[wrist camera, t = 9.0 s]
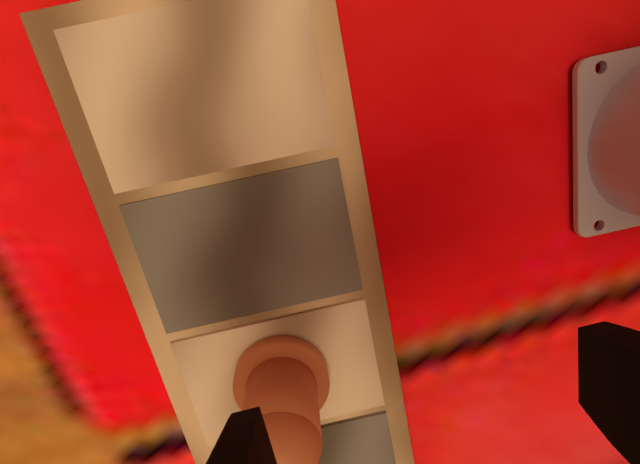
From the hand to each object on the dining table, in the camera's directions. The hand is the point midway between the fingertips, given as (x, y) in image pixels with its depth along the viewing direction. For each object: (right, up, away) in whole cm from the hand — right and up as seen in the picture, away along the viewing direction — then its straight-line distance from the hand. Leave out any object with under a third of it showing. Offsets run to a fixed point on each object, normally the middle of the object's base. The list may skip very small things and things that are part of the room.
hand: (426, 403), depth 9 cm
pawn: (-4, -3, +10) cm, 11 cm away
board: (-5, 0, +10) cm, 11 cm away
